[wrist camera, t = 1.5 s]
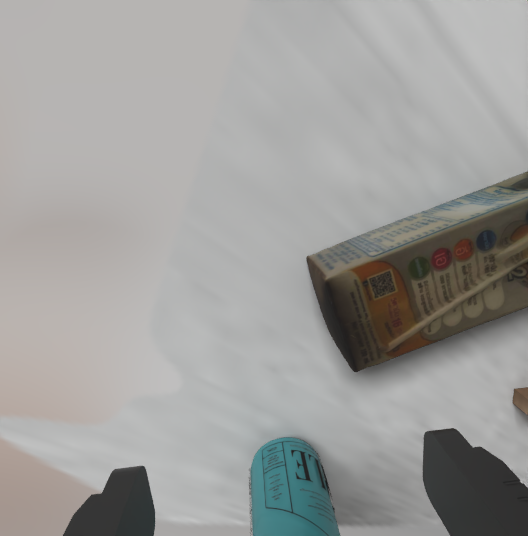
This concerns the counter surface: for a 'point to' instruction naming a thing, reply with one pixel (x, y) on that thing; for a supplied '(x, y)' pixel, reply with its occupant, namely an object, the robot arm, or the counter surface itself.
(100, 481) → the counter surface
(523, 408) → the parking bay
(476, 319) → the beverage carton
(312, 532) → the beverage bottle
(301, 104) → the counter surface
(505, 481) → the robot arm
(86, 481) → the counter surface
